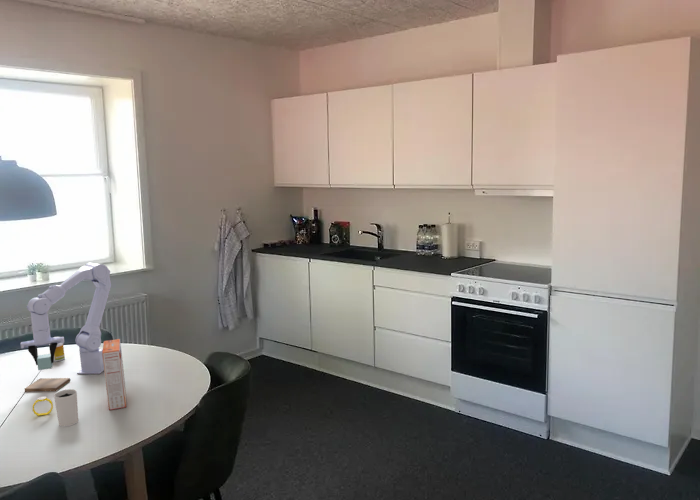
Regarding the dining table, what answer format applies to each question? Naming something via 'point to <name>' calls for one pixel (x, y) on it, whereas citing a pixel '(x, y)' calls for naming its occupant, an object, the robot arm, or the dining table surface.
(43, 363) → the teal cube
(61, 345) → the supplement bottle
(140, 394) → the dining table surface
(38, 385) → the walnut board
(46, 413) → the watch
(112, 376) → the cracker box
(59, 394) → the white cup
